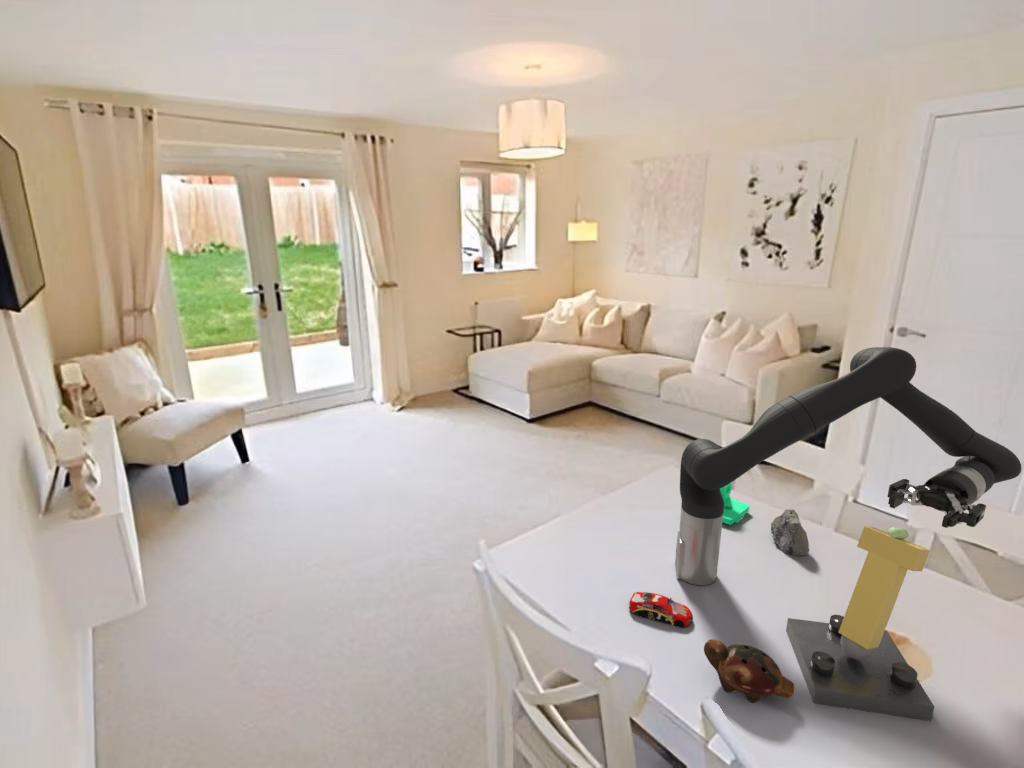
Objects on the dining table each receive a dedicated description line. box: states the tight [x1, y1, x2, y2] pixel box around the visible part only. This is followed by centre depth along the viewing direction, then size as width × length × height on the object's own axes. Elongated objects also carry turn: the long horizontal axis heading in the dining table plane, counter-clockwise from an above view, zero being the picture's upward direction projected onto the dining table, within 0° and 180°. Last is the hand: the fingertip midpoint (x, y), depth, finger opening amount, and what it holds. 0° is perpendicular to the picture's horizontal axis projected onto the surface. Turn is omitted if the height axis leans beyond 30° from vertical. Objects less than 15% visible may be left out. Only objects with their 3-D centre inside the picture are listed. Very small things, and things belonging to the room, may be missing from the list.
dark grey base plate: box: [785, 614, 935, 722], centre depth 100 cm, size 18×18×5 cm
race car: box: [628, 591, 694, 629], centre depth 116 cm, size 13×5×4 cm, turn 65°
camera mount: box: [720, 482, 750, 526], centre depth 154 cm, size 12×8×10 cm, turn 133°
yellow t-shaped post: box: [838, 525, 931, 660], centre depth 99 cm, size 5×9×25 cm, turn 33°
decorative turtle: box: [703, 638, 795, 704], centre depth 96 cm, size 10×15×8 cm, turn 68°
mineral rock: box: [770, 508, 810, 557], centre depth 141 cm, size 13×11×10 cm
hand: (917, 512), depth 101 cm, fingers open, 8 cm apart
